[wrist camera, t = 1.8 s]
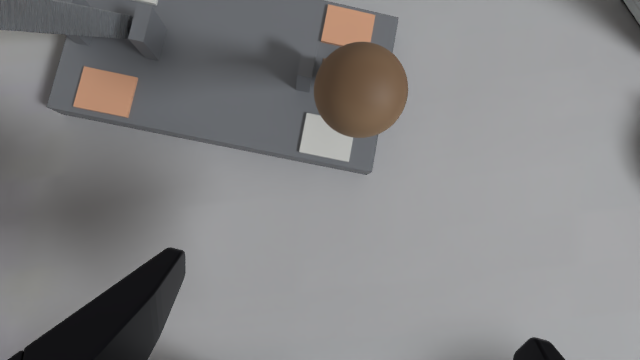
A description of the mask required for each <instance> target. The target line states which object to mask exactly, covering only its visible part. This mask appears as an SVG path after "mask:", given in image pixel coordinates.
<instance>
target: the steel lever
mask: <svg viewBox="0 0 640 360" xmlns="http://www.w3.org/2000/svg"><path fill="white" fill-rule="evenodd" d="M132 21H133V16H129V15H125V14H120V13H115V12H111V11H106V10H102V9H97V8H93V7H88V6H83V5H78V4H73V3H68V2H63V1H58V0H0V30H11V31H25V32H39V33H53V34H66V35H80V36H94V37H107V38H121V39H128V36H129V33H130V29H131V25H132Z"/></svg>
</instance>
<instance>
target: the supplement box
mask: <svg viewBox="0 0 640 360" xmlns="http://www.w3.org/2000/svg"><path fill="white" fill-rule="evenodd" d="M623 1H624V3H625V4H626V5H627V7H628V8H629V10H630V11H631V13H632V14H633V16H634V17H635V19H636V20H637V22H638V23H639V25H640V0H623Z"/></svg>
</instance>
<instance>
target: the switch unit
mask: <svg viewBox="0 0 640 360" xmlns="http://www.w3.org/2000/svg"><path fill="white" fill-rule="evenodd" d="M58 1H63V2H68V3H73V4H78V5H83V6H88V7H93V8H97V9H102V10H106V11H111V12H115V13H120V14H125V15H129V16H133V21H132V25H131V29H130V33H129V36H128V39H121V38H107V37H94V36H80V35H66V34H65V35H66V40H65V43H64V47H63V51H62V54H61V58H60V61H59V65H58V68H57V72H56V75H55V79H54V83H53V86H52V90H51V93H50V97H49V100H48V104H47V107H48V108H50V109H52V110H54V111H57V112H59V113H61V114H64V115H69V116H74V117H79V118H84V119H89V120H94V121H99V122H104V123H109V124H114V125H119V126H124V127H129V128H134V129H139V130H144V131H149V132H154V133H159V134H164V135H169V136H174V137H179V138H184V139H189V140H194V141H199V142H204V143H209V144H214V145H219V146H224V147H229V148H234V149H239V150H244V151H250V152H255V153H260V154H265V155H270V156H275V157H280V158H285V159H290V160H295V161H300V162H305V163H310V164H315V165H320V166H325V167H330V168H335V169H340V170H345V171H350V172H355V173H360V174H365V175H367V174H369V173H371V172H372V168H373V162H374V156H375V151H376V145H377V139H378V134H377V135H375V136H371V137H366V138H354V137H349V136H345V135H342V134H340V133H338V132H336V131H335V130H333V129H332V128H331V127H329V126H328V125H327V124H326V123H325V121H324V120H323V119H322V117H321V115H320V114H319V112H318V109H317V107H316V104H315V99H314V83H315V78H316V75H317V72H318V70H319V68H320V66H321V64H322V60H323V58H327V57H328V56H329V55H330V54H331V53H332V52H333V51H335V50H336V49H338V48H339V47H341V46H344V45H346V44H349V43H353V42H370V43H374V44H378V45H380V46H382V47H384V48H386V49H387V50H389V51H390V52H391V53H393V47H394V41H395V35H396V30H397V24H398V17H394V16H390V15H385V14H381V13H377V12H372V11H368V10H363V9H359V8H355V7H350V6H346V5H342V4H337V3H333V2H328V1H324V0H58Z"/></svg>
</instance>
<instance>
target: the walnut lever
mask: <svg viewBox="0 0 640 360" xmlns="http://www.w3.org/2000/svg"><path fill="white" fill-rule="evenodd" d="M407 96H408V82H407V77H406V74H405V71H404V68H403V66H402V64H401V63H400V61H399V60H398V59H397V57H396V56H395V55H394V54H393V53H391V52H390V51H389V50H387V49H386V48H384V47H382V46H380V45H378V44H374V43H370V42H353V43H349V44H346V45H344V46H341V47H339V48H338V49H336V50H335V51H333V52H332V53H331V54H330V55H329V56H328V57H327V58H323V60H322V64H321V66H320V68H319V70H318V72H317V75H316V78H315V83H314V99H315V104H316V107H317V109H318V112H319V114H320V115H321V117H322V119H323V120H324V121H325V123H326V124H327V125H328V126H329V127H331V128H332V129H333V130H335V131H336V132H338V133H340V134H342V135H345V136H349V137H354V138H366V137H371V136H375V135H377V134H380V133H382V132H383V131H385V130H387V129H388V128H389V127H390V126H392V125H393V124H394V123H395V122H396V120H397V119H398V118H399V116H400V115H401V113H402V111H403V109H404V107H405V104H406V101H407Z"/></svg>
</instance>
